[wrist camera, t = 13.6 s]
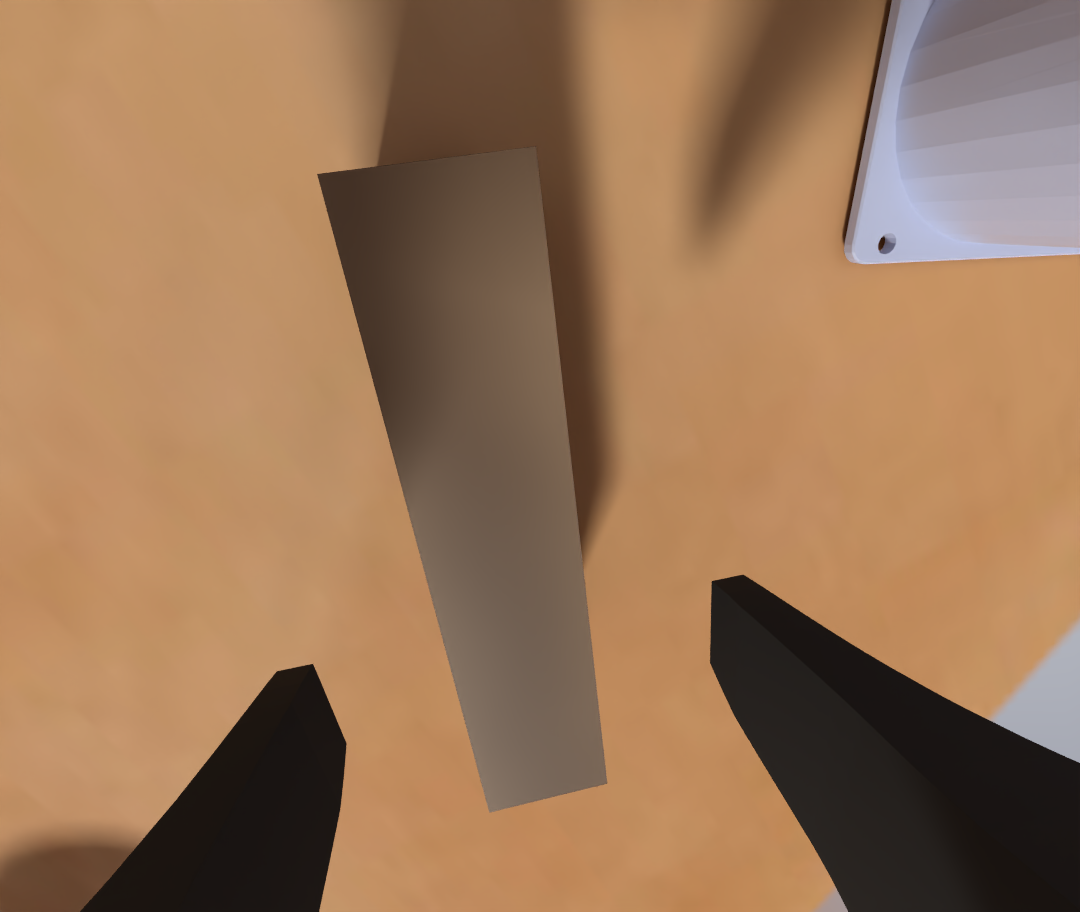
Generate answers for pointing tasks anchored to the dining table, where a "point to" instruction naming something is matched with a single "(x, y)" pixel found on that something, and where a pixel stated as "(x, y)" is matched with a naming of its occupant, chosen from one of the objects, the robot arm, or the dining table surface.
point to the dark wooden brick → (481, 448)
